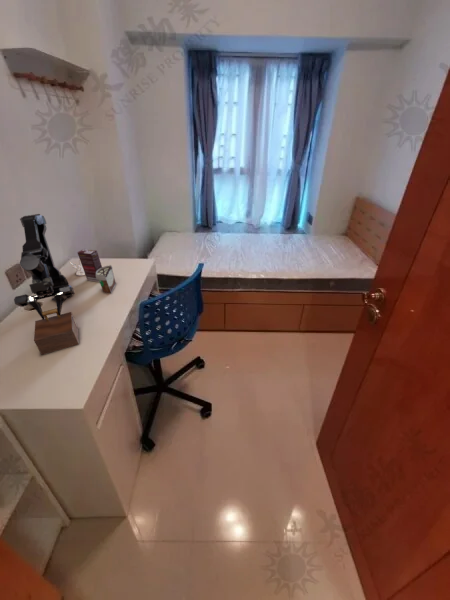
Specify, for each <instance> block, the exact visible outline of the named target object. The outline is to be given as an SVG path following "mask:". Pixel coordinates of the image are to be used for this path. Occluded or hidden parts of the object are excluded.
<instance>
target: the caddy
mask: <svg viewBox="0 0 450 600" xmlns="http://www.w3.org/2000/svg"><path fill="white" fill-rule="evenodd" d="M72 324H73V331H71V332H68V333H64V334H60V335H57V336H53V337H50V338H46V339H43V340H39V341H36V342H34V344H35V345H36V348H37V349H38V351H39V353H40V355H41V356H44V355H46V354H50V353H54V352H57V351H61V350H63V349H66V348H71V347H74V346H77V345H79V344H80V342H79V328H78V326H77V323H76V321H75V319H74V316H73V315H72Z"/></svg>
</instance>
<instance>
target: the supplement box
mask: <svg viewBox="0 0 450 600" xmlns="http://www.w3.org/2000/svg"><path fill="white" fill-rule="evenodd" d="M76 253H77V256H79V257H78V260H79V259H80V261H81V264H82V267H83V269H84V272H85V275H84V276H85V277H86V280H87V281H91V282H97V283H100V282H99V280H98V279H97V278H96V271H97V270H98V269H100V268H102V267H103V266H102V262H101V260H100V259H101V258H100V256H99V253H98V249H97V250H96V249H86V248H83V249H81V250H79V251H77V252H76Z"/></svg>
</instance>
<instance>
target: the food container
mask: <svg viewBox="0 0 450 600" xmlns="http://www.w3.org/2000/svg"><path fill="white" fill-rule="evenodd" d="M96 278H97V279H98V280H99V282H98V283H99V285H100V288H101V289H102V291H103V293H105V294H112V293H113V291H114V289H115V287H116V285H117V283H116V279H115V274H114V271H113V266H112V265H111V264H109V265H104V266H102V268H100V269H98V270H97V271H96Z"/></svg>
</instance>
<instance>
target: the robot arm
mask: <svg viewBox="0 0 450 600" xmlns="http://www.w3.org/2000/svg"><path fill="white" fill-rule="evenodd" d="M19 221H20V223H21V226H22V228H23V230H24V238H25V242H24V243H23V245H22V251H21V253H20V260H19V265H20V267H21V268H22V269H23V270H25V271H26V272H27V273H28V274H30V276H31V283H30V284H28V286H29V288H30V291H31V294H34V295H28V294H25V293H24V294H22V295H21V294H20V295H16V296H15V297H14V298H13V302H14V304H15V306H18V307H20V308H24V307H28V306H29V307H31V308H33V309H34V310H35V311H36V312H37V313H38V315H39V317H40V318H41V319H43V320H44V319H45V317H44V316H43V315H42V312H44V311H43V308H42V306H41V303H40V302H38V301H39V300H43V299H47V298H51V301H55V303H56V304H55V305H56V308H57V311H58V314H59V315H61V314H62V309H63V305H64V302H65V301H66V300H68V299H69V298H71V297H72V296H73V295H75V294H76V292H75V289H74V287H73V286H72V285H71V284H69V281H68V279H67V277H66V276H64V274H63V273H62V272H61V270H60V269H58V268H57V267H56V265H55V263H54V262H55V261H54V259H53V256H52V254H51V250H50V248H49V244H48V240H47V238H46V233H47V229H48V228H47V220H46V218H45V215H41V213H35V214H30V215H29V214H28V215H23V216H22V217H20V218H19Z"/></svg>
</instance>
